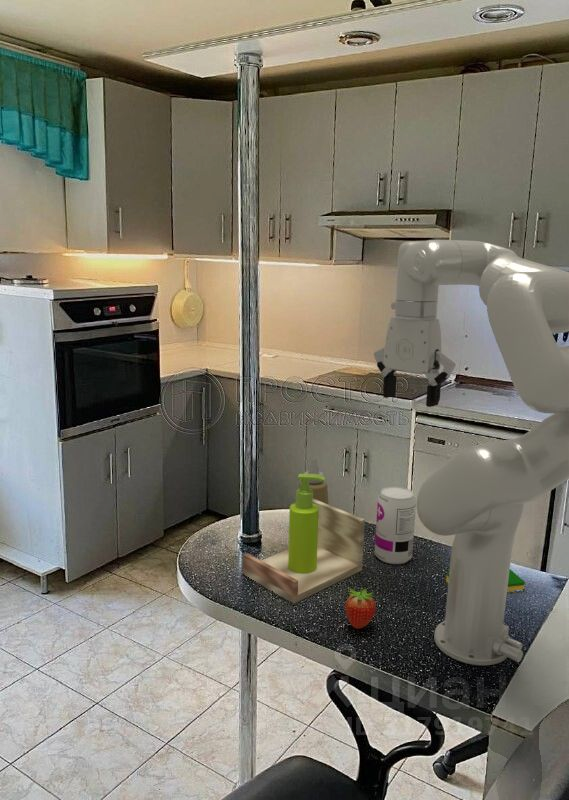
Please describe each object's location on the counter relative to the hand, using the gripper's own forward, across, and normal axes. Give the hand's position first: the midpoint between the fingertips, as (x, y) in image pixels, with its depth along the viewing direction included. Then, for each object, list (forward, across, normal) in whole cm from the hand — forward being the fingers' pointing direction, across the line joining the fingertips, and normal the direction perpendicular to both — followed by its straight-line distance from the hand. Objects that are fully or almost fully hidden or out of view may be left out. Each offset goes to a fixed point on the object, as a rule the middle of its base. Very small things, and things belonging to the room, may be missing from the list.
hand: (410, 401), depth 125 cm
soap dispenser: (+36, -16, -11) cm, 41 cm away
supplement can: (+38, -8, +9) cm, 40 cm away
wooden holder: (+38, -16, -11) cm, 42 cm away
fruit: (+38, +4, -18) cm, 43 cm away
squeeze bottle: (+38, -29, +5) cm, 48 cm away
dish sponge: (+39, +12, +12) cm, 42 cm away
